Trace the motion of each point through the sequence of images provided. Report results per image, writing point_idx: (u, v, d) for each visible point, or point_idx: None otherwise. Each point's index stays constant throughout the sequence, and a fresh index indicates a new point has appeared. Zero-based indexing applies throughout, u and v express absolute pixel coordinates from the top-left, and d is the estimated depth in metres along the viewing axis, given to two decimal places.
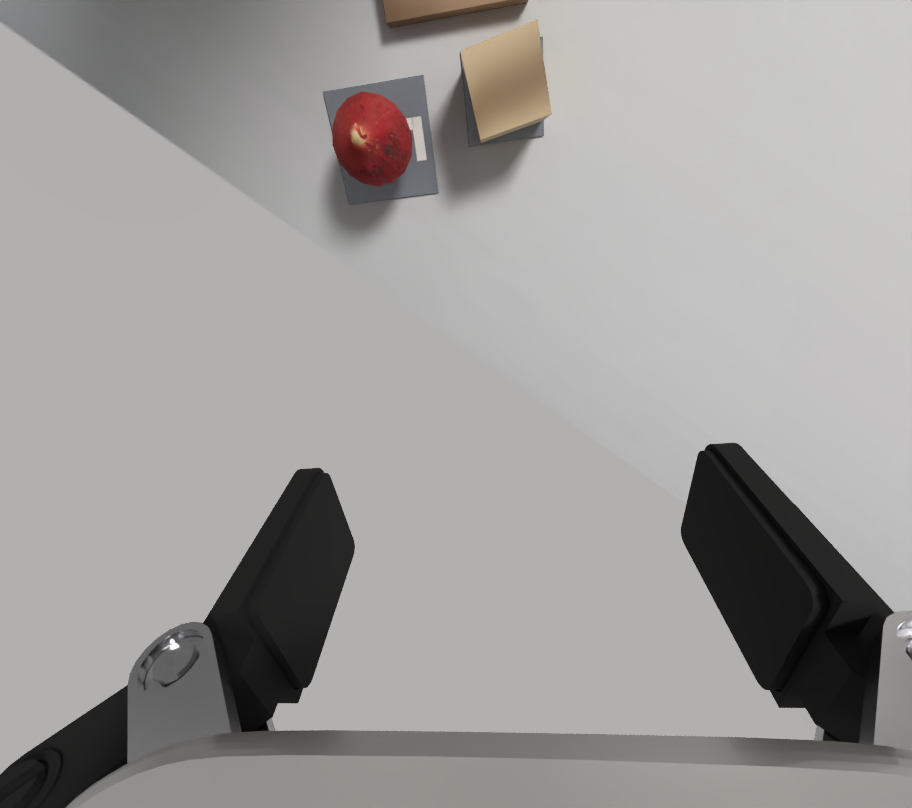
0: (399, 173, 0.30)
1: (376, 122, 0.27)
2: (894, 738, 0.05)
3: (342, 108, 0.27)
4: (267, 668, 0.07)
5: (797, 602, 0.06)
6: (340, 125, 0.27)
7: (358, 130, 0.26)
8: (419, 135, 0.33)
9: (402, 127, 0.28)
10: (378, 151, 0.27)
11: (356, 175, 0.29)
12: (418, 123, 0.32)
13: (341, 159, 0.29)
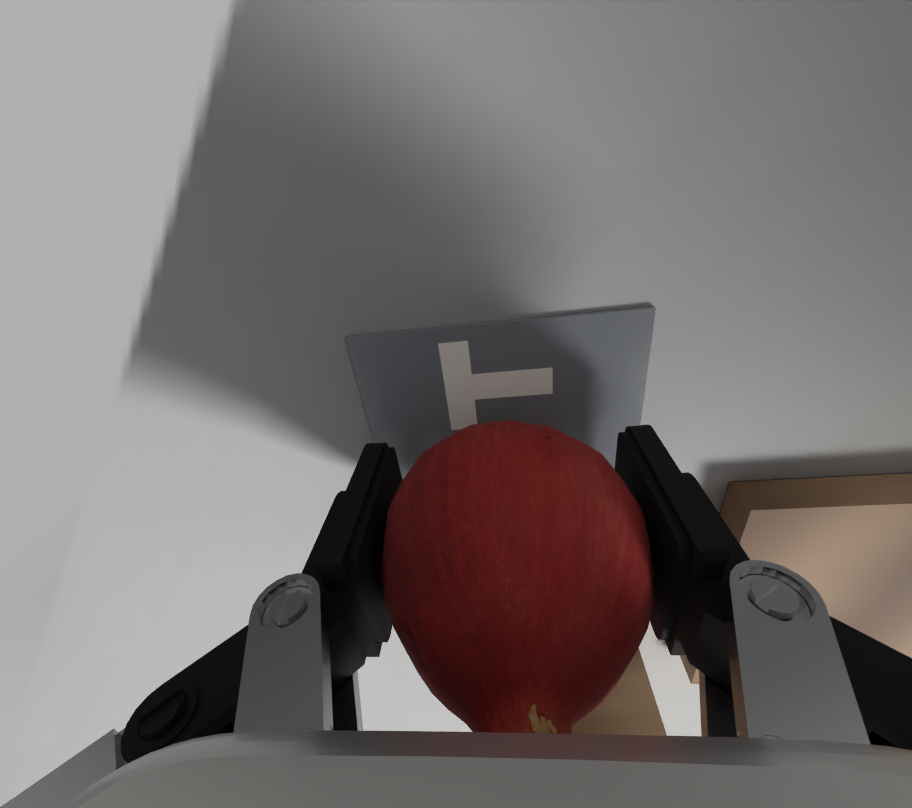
0: None
1: None
2: (756, 685, 0.05)
3: (629, 581, 0.07)
4: (360, 619, 0.08)
5: (672, 557, 0.07)
6: (578, 614, 0.06)
7: None
8: None
9: None
10: None
11: (399, 577, 0.07)
12: None
13: (453, 561, 0.07)
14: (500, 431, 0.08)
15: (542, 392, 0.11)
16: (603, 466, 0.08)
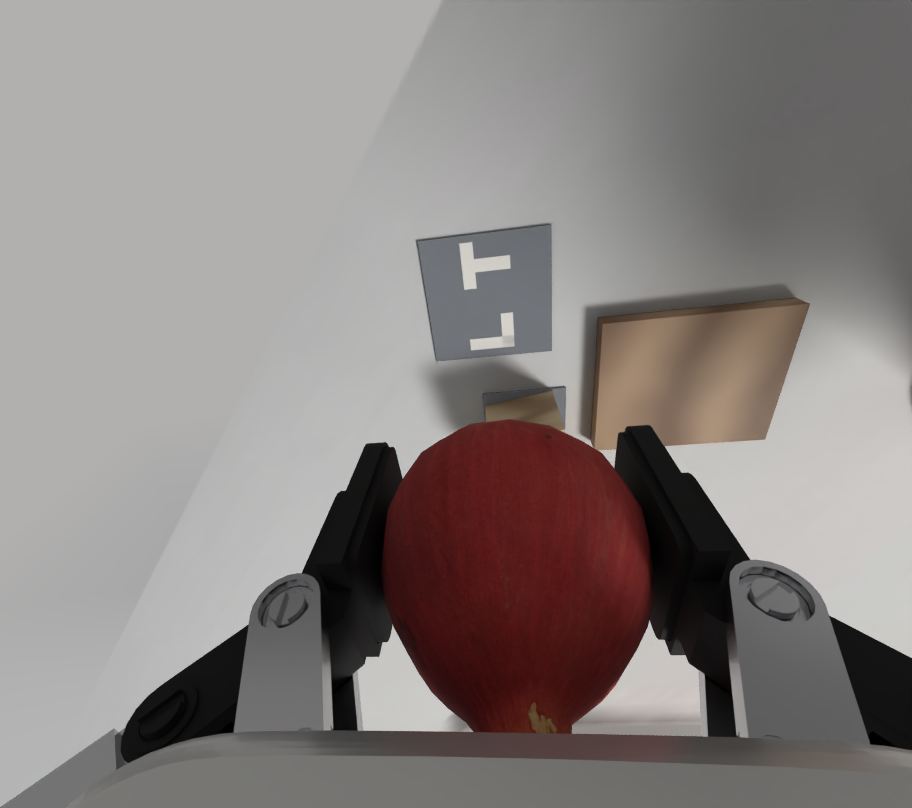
0: None
1: None
2: (756, 685, 0.05)
3: (629, 580, 0.07)
4: (360, 618, 0.08)
5: (672, 557, 0.07)
6: (579, 614, 0.06)
7: None
8: (496, 341, 0.27)
9: None
10: None
11: (399, 576, 0.07)
12: (507, 342, 0.27)
13: (453, 560, 0.07)
14: (500, 430, 0.08)
15: (505, 267, 0.25)
16: (603, 465, 0.08)
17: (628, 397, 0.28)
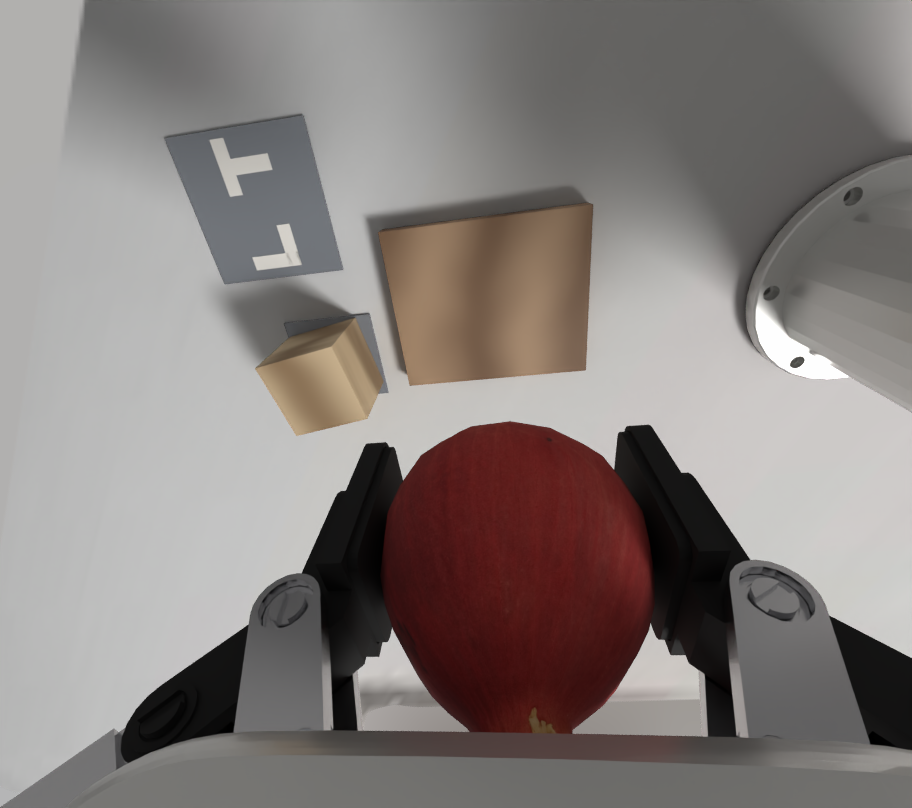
0: None
1: None
2: (756, 685, 0.05)
3: (630, 585, 0.07)
4: (360, 619, 0.08)
5: (671, 557, 0.07)
6: (580, 618, 0.06)
7: None
8: (282, 260, 0.25)
9: None
10: None
11: (399, 580, 0.07)
12: (293, 260, 0.25)
13: (453, 564, 0.07)
14: (500, 433, 0.08)
15: (267, 169, 0.22)
16: (603, 468, 0.08)
17: (429, 321, 0.25)
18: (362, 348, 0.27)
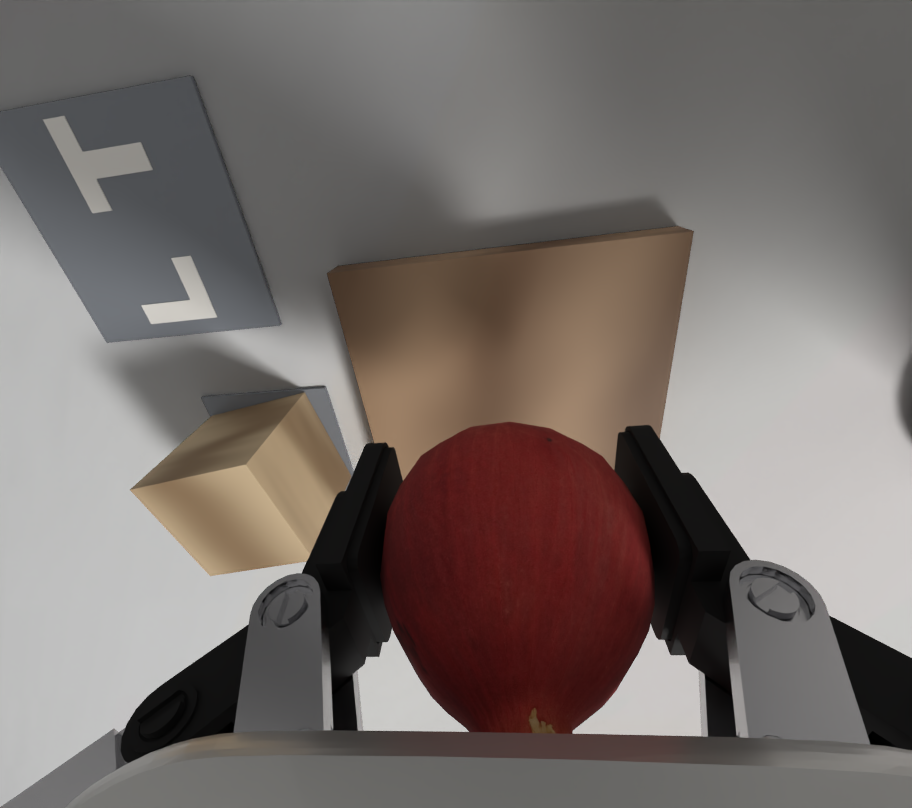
0: None
1: None
2: (756, 685, 0.05)
3: (630, 585, 0.07)
4: (360, 619, 0.08)
5: (672, 557, 0.07)
6: (579, 618, 0.06)
7: None
8: (188, 309, 0.16)
9: None
10: None
11: (398, 580, 0.07)
12: (203, 311, 0.16)
13: (453, 565, 0.07)
14: (500, 434, 0.08)
15: (143, 169, 0.14)
16: (603, 468, 0.08)
17: (413, 405, 0.16)
18: (313, 439, 0.18)
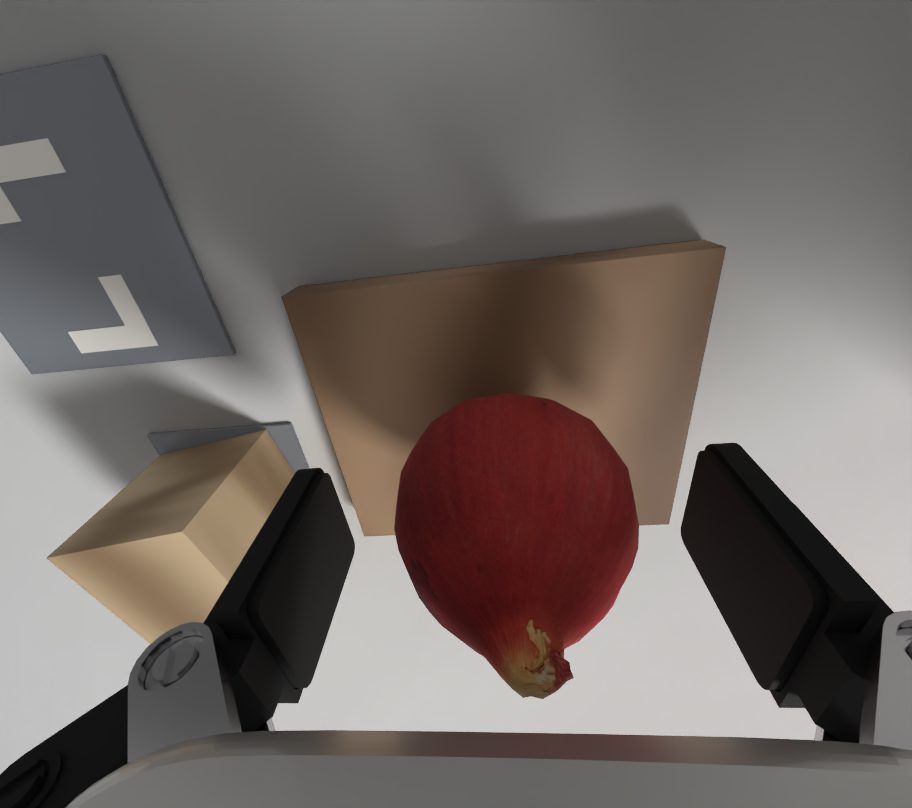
0: None
1: None
2: (894, 738, 0.05)
3: (614, 522, 0.08)
4: (267, 668, 0.07)
5: (797, 602, 0.06)
6: (570, 545, 0.07)
7: (546, 693, 0.07)
8: (124, 336, 0.14)
9: None
10: (478, 652, 0.08)
11: (413, 522, 0.08)
12: (142, 338, 0.14)
13: (461, 503, 0.08)
14: (501, 399, 0.09)
15: (55, 171, 0.11)
16: (592, 429, 0.09)
17: (391, 447, 0.14)
18: (277, 483, 0.15)
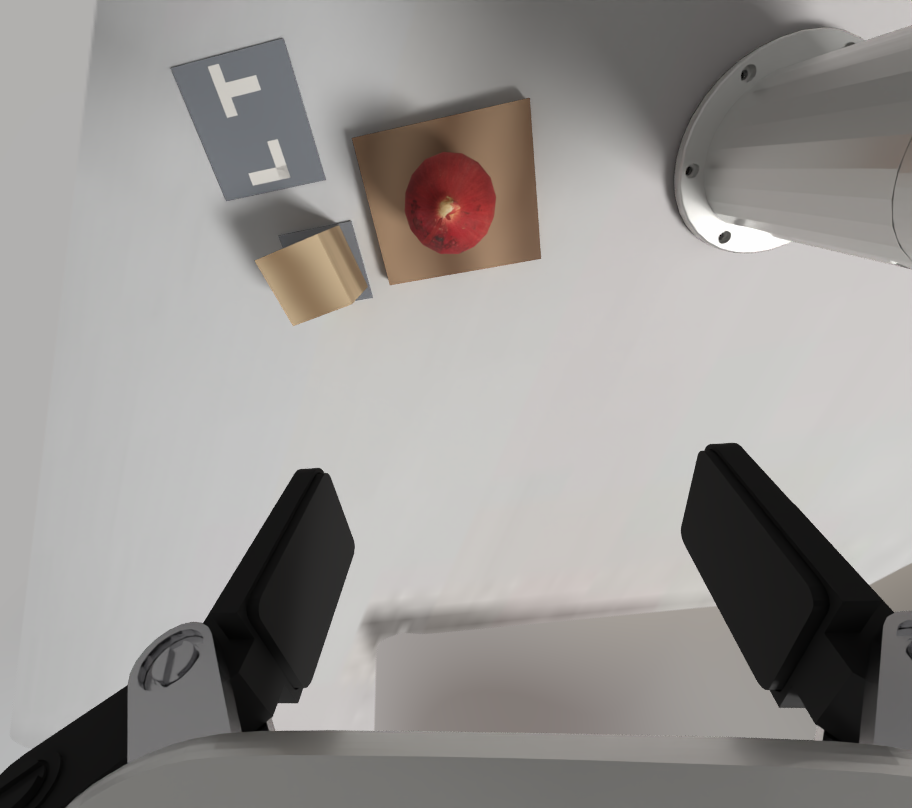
0: (420, 241, 0.26)
1: (463, 227, 0.24)
2: (894, 738, 0.05)
3: (477, 177, 0.23)
4: (267, 668, 0.07)
5: (797, 602, 0.06)
6: (460, 177, 0.23)
7: (452, 212, 0.22)
8: (274, 174, 0.30)
9: (462, 249, 0.26)
10: (435, 229, 0.24)
11: (410, 189, 0.24)
12: (283, 174, 0.29)
13: (425, 171, 0.23)
14: None
15: (256, 89, 0.27)
16: (475, 161, 0.24)
17: (401, 220, 0.30)
18: (346, 250, 0.31)
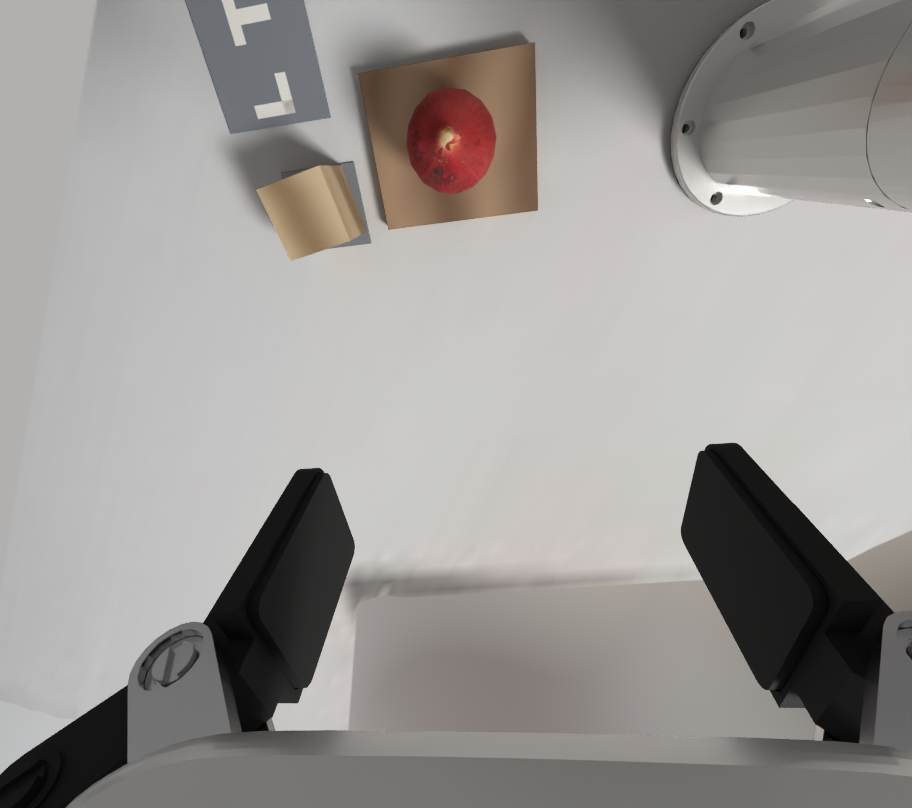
0: (420, 178, 0.27)
1: (462, 161, 0.24)
2: (894, 738, 0.05)
3: (479, 112, 0.24)
4: (267, 668, 0.07)
5: (797, 602, 0.06)
6: (462, 109, 0.23)
7: (452, 141, 0.23)
8: (279, 109, 0.30)
9: (461, 187, 0.26)
10: (435, 161, 0.24)
11: (413, 121, 0.24)
12: (288, 108, 0.30)
13: (428, 102, 0.24)
14: None
15: (266, 18, 0.27)
16: (478, 99, 0.25)
17: (403, 163, 0.30)
18: (347, 191, 0.31)
